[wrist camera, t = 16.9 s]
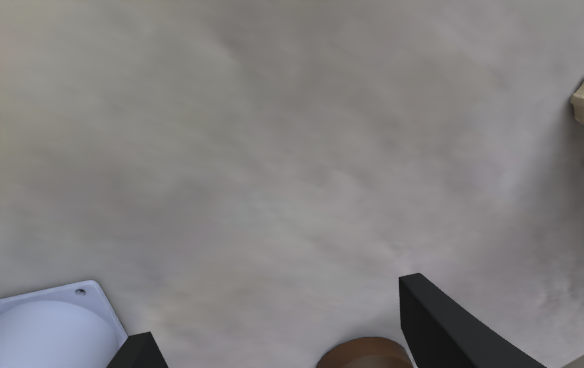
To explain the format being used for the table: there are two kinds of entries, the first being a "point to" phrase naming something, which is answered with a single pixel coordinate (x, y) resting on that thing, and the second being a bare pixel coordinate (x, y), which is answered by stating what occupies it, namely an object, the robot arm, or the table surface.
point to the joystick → (367, 355)
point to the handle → (578, 104)
